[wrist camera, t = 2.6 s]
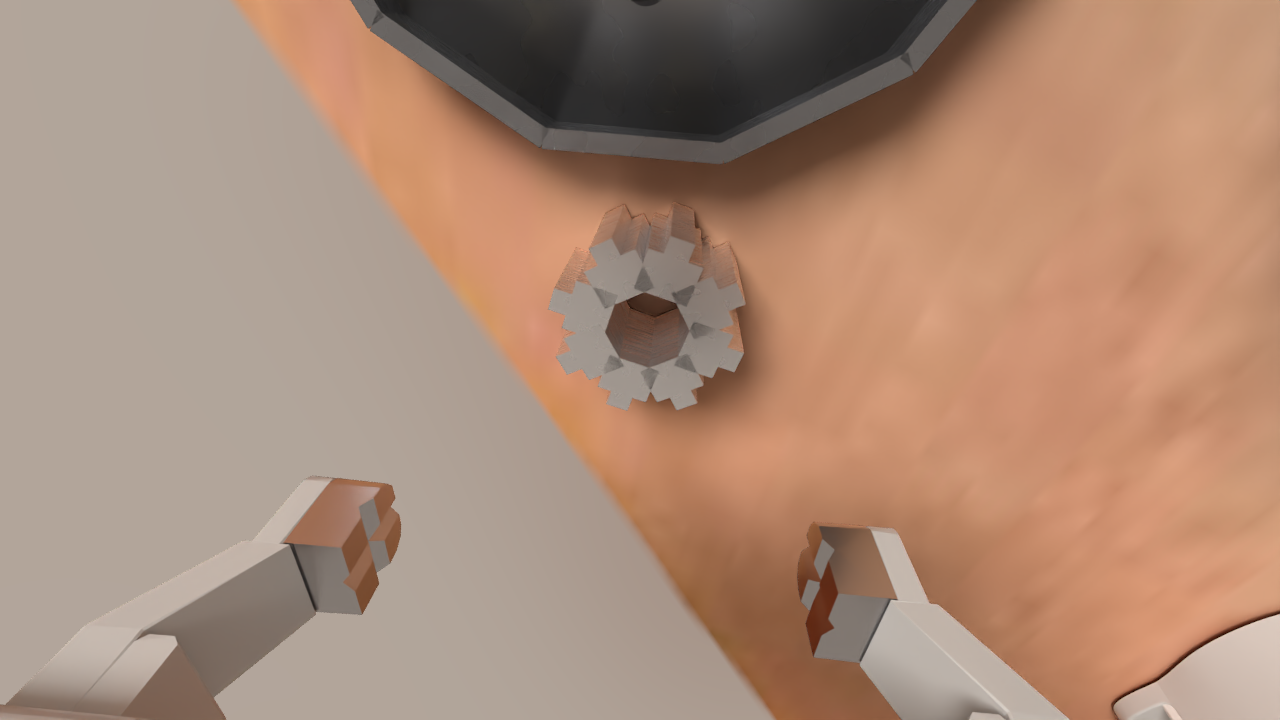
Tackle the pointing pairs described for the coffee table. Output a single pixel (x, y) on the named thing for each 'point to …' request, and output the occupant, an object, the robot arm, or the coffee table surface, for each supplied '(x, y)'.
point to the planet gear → (637, 342)
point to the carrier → (664, 65)
